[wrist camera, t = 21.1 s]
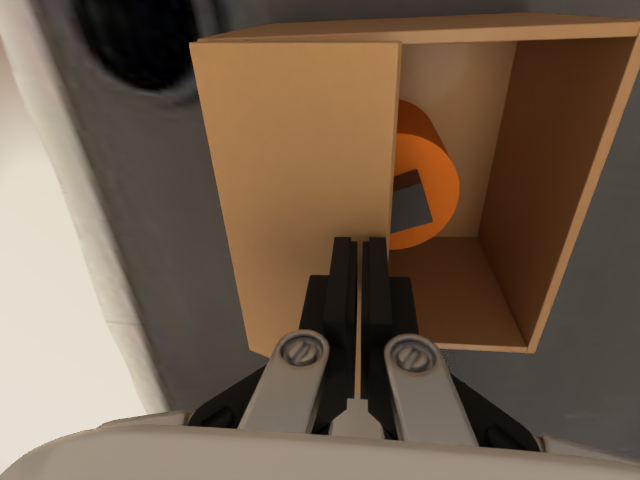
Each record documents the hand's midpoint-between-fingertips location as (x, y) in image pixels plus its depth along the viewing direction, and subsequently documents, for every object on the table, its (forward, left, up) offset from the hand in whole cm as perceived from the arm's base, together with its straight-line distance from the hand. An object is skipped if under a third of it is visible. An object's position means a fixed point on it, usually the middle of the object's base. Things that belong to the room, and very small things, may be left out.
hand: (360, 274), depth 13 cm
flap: (0, +2, -2) cm, 3 cm away
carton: (0, -1, -14) cm, 14 cm away
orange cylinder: (0, -1, -13) cm, 13 cm away
